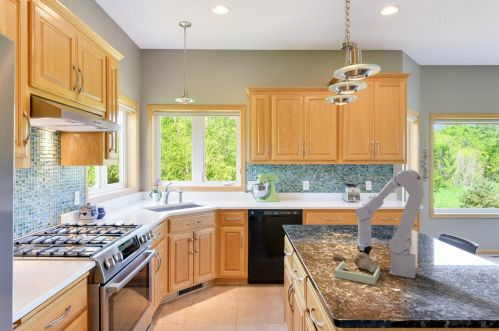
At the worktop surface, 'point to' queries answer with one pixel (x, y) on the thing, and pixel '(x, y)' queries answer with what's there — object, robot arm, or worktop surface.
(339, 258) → the walnut tile
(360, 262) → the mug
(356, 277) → the beige u-shaped block
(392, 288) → the worktop surface
